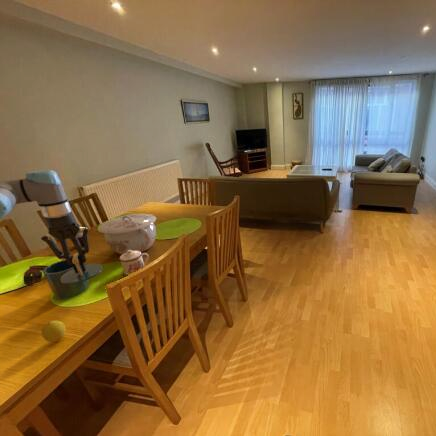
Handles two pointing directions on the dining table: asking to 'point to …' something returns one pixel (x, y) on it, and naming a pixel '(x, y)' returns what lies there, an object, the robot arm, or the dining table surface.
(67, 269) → the blue cylindrical pot
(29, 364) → the dining table surface
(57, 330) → the lemon
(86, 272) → the pot lid
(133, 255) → the teacup with lid
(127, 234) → the chamber pot
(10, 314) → the dining table surface
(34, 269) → the pottery mug
